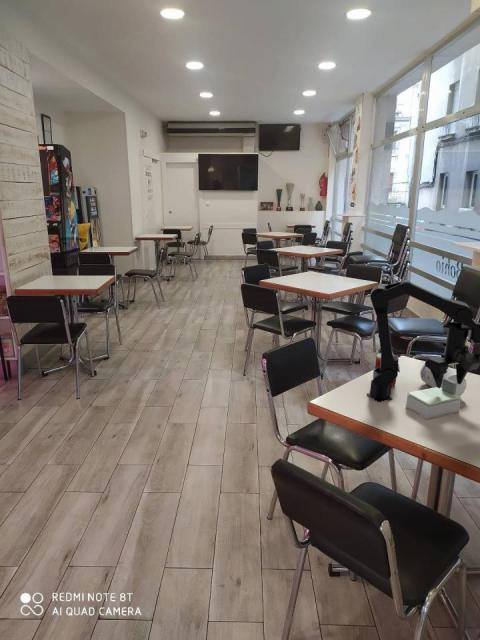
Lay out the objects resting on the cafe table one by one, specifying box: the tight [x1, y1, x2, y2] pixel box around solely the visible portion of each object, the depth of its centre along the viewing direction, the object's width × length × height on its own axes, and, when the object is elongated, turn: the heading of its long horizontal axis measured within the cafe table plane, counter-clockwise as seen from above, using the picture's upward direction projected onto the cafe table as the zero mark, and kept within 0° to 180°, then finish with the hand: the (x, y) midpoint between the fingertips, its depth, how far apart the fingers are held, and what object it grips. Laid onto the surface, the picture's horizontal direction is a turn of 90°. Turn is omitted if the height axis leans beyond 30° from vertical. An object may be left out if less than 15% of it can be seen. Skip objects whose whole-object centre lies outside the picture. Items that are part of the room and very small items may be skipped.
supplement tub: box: [419, 363, 467, 397], centre depth 160 cm, size 10×10×15 cm
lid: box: [407, 378, 462, 406], centre depth 144 cm, size 14×9×5 cm, turn 113°
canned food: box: [374, 352, 399, 388], centre depth 165 cm, size 8×8×11 cm
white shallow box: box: [405, 394, 462, 420], centre depth 145 cm, size 14×9×4 cm, turn 113°
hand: (448, 385), depth 146 cm, fingers open, 9 cm apart
